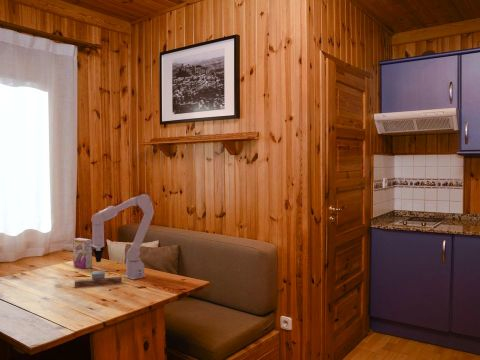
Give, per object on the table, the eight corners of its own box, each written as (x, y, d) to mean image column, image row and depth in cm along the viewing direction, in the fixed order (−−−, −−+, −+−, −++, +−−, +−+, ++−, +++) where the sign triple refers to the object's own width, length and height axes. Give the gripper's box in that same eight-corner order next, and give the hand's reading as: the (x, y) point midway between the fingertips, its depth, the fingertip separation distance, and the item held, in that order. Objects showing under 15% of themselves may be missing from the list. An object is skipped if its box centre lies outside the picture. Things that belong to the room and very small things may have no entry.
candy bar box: (72, 266, 247) (72, 238, 246) (80, 265, 251) (79, 237, 251) (85, 269, 241) (85, 240, 240) (92, 267, 245) (92, 239, 245)
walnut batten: (121, 281, 216) (121, 276, 216) (121, 283, 213) (121, 278, 213) (75, 285, 209) (74, 280, 209) (74, 287, 206) (74, 281, 206)
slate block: (104, 280, 219) (104, 270, 219) (104, 283, 213) (104, 273, 213) (92, 281, 217) (92, 271, 217) (92, 284, 211) (92, 274, 211)
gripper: (90, 234, 228) (90, 259, 228) (89, 238, 214) (90, 265, 215) (104, 233, 230) (104, 258, 231) (104, 238, 216) (104, 264, 217)
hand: (98, 261), depth 223 cm, fingers closed
